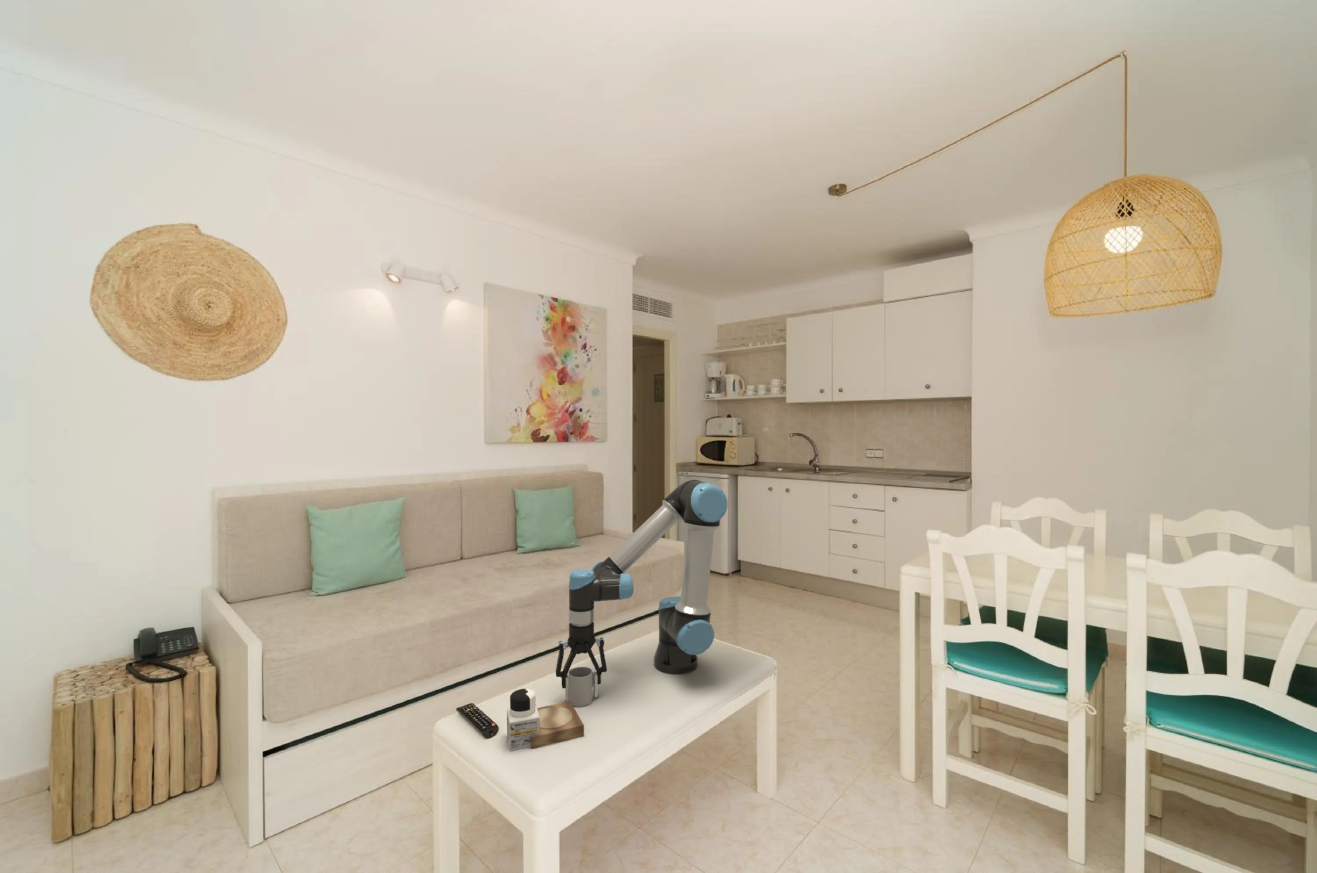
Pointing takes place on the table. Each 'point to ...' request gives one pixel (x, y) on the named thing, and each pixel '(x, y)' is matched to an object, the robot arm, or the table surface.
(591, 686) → the cup
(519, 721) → the container
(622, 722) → the table surface
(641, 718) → the table surface
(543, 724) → the pedestal
